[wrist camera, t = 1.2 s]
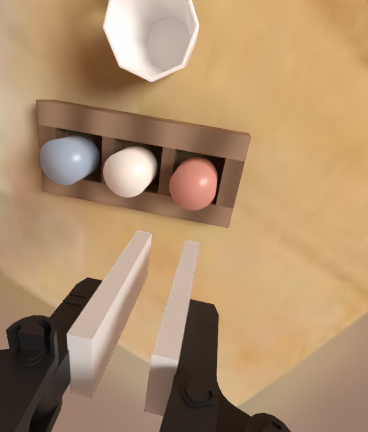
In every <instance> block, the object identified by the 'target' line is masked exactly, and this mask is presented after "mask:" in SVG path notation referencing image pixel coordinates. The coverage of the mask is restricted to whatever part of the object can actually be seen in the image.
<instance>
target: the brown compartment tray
mask: <svg viewBox="0 0 368 432" xmlns="http://www.w3.org/2000/svg"><path fill="white" fill-rule="evenodd" d="M36 107H37V118H38V130H39V142H40V150H41V148H42V146H43V145H44V144H45V143H46V142H48V141H51V140H55V139H59V138H64V137H68V136H71V132H70V130H72V131H78V132H83V133H89V134H94V135H100V136H102V174H98V173H91V174H90V175H88V176H86V177H84V178H82V179H81V180H79V181H77V182H75V183H73V184H71V185H60V184H57V183H55V182H53V181H52V180H51V179H49V178H48V177H47V176H46V174H45V173H44V172H43V170H42V177H43V189H44V192H49V193H54V194H59V195H64V196H69V197H74V198H79V199H84V200H89V201H94V202H99V203H104V204H109V205H114V206H119V207H124V208H129V209H135V210H140V211H145V212H150V213H155V214H160V215H165V216H170V217H175V218H180V219H185V220H190V221H195V222H200V223H205V224H210V225H215V226H220V227H225V228H228V227H229V223H230V219H231V215H232V211H233V207H234V203H235V199H236V195H237V191H238V187H239V183H240V179H241V175H242V171H243V167H244V163H245V159H246V155H247V151H248V147H249V143H250V139H251V136H250V135H249V133H244V132H239V131H233V130H227V129H221V128H215V127H209V126H203V125H198V124H192V123H186V122H180V121H174V120H168V119H163V118H157V117H151V116H145V115H139V114H133V113H128V112H122V111H116V110H110V109H104V108H98V107H92V106H87V105H81V104H75V103H69V102H63V101H57V100H36ZM124 140H128V141H133V142H139V143H145V144H150V145H156V146H161V147H163V151H162V160H161V169H160V178H159V185H156V184H149V185H148V186H147V187H146V188H145V189H144V190H143V192H142V193H140V194H139V195H137V196H135V197H122V196H119V195H117V194H115V193H114V192H113V191H112V190H111V189H110V188H109V187H108V186H107V184H106V182H105V180H104V176H103V168H104V164H105V162H106V160H107V159H108V158H109V157H110V156H111V155H113V154H115V153H117V152H119V151H121V150H123V149H124ZM179 150H184V151H189V152H195V153H200V154H206V155H212V156H217V157H223V158H225V160H224V164H223V169H222V174H221V178H220V183H219V188H218V192H217V196H214V199H213V200H212V202H211V203H210V204H209V205H208V206H206V207H204V208H202V209H199V210H188V209H185V208H182V207H181V206H179V205H178V204H177V203H176V202H175V201H174V200H173V198H172V196H171V194H170V190H169V183H170V180H171V177H172V175H173V174H174V172H175V171H176V170H177V163H178V156H179Z"/></svg>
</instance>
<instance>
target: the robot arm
mask: <svg viewBox="0 0 368 432" xmlns="http://www.w3.org/2000/svg"><path fill="white" fill-rule="evenodd" d="M151 237H152V233H151V232H146V231H141V230H137V231H136V233H135V234H134V236H133V237H132V239H131V240H130V242H129V243H128V245H127V246H126V248H125V249H124V250H123V252H122V253H121V255H120V256H119V258H118V259H117V261H116V262H115V264H114V265H113V267H112V268H111V270H110V271H109V272H108V274H107V275H106V277H105V278H104V280H103V281H102V280H97V279H93V278H86V279H84V280H83V281H81V282H79V283H78V284H76V286H75V287H74V288H73V289H72V291H71V292H70V293H69V295H67V297H66V298H65V299H64V300H63V303H61V304H60V305H59V307H58V308H57V309H56V310H55V311H54V313H53V314H52V315H51V316H50V318H49V317H46V316H42V315H33V316H29V317H26V318H23V319H21V320H19V321H17V322H15V323H13V324H12V325H11V326H10V327H9V328H8V329H7V330H6V333H7V338H8V343H9V347H10V349H5V350H0V432H51V431H52V428H53V426H54V424H55V421H56V419H57V417H58V415H59V412H60V410H61V406H62V396H63V394H64V392H65V390H66V388H67V387H68V385H69V383H70V392H71V393H74V394H78V395H82V396H86V397H90V398H93V396H94V393H95V391H96V389H97V387H98V384H99V382H100V380H101V378H102V376H103V373H104V371H105V369H106V366H107V364H108V362H109V360H110V358H111V355H112V353H113V351H114V349H115V346H116V344H117V342H118V340H119V338H120V335H121V333H122V331H123V329H124V326H125V324H126V322H127V320H128V318H129V315H130V313H131V311H132V309H133V306H134V304H135V302H136V300H137V298H138V295H139V293H140V291H141V289H142V286H143V284H144V282H145V280H146V277H147V274H148V265H149V255H150V246H151ZM199 247H200V242H195V241H190V240H185V243H184V246H183V250H182V253H181V257H180V260H179V263H178V267H177V270H176V274H175V277H174V281H173V284H172V287H171V291H170V294H169V298H168V301H167V305H166V308H165V311H164V315H163V318H162V322H161V325H160V328H159V332H158V335H157V339H156V342H155V346H154V349H153V352H152V358H151V365H150V372H149V379H148V386H147V394H146V401H145V409H144V411H145V412H149V413H153V414H157V415H160V416H164V417H163V421H162V424H161V428H160V431H159V432H291V431H290V430H289V429H288V428H287V427H286V425H285V424H284V423H283V422H282V421H280V420H279V419H277V418H276V417H275V416H273V415H269V414H266V413H259V414H255V415H253V416H252V417H251V416H249V415H248V414H246V413H245V412H243V411H241V410H240V409H238V408H237V407H235V406H234V405H233V404H231V403H230V402H229V401H228V400H227V399H226V398H225V397H224V395H223V394H222V392H221V390H220V389H219V386H218V383H217V375H216V374H217V347H218V320H219V315H218V313H217V310H216V308H215V306H214V304H210V303H205V302H200V301H196V300H191V299H190V296H191V291H192V285H193V280H194V274H195V269H196V263H197V258H198V252H199Z"/></svg>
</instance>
